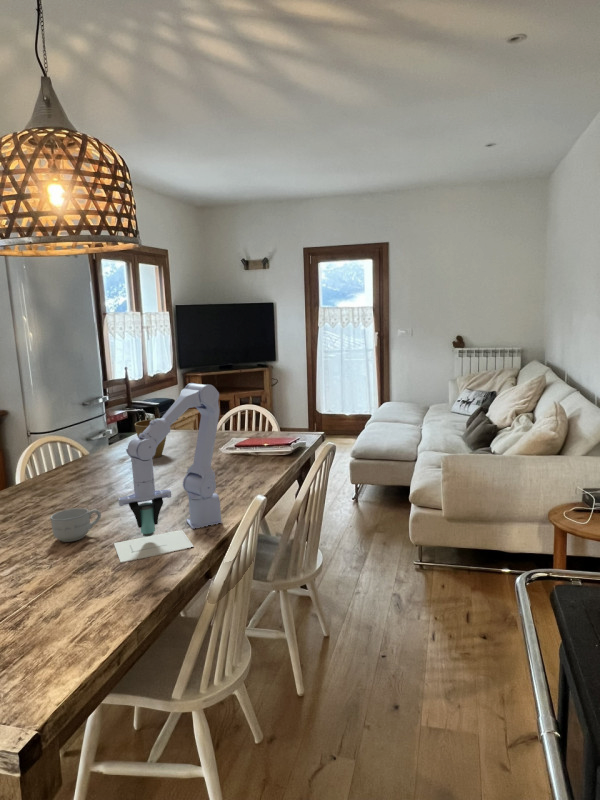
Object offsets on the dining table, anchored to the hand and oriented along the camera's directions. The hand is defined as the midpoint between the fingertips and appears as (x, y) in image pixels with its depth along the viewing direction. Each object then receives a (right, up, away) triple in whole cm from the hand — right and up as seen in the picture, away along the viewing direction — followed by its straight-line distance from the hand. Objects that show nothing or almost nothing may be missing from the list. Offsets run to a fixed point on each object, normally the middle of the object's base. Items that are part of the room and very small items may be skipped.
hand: (147, 524), depth 162 cm
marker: (0, -3, 0) cm, 3 cm away
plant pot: (-24, +10, +100) cm, 103 cm away
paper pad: (+2, -6, -2) cm, 6 cm away
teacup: (-23, -5, +7) cm, 24 cm away
